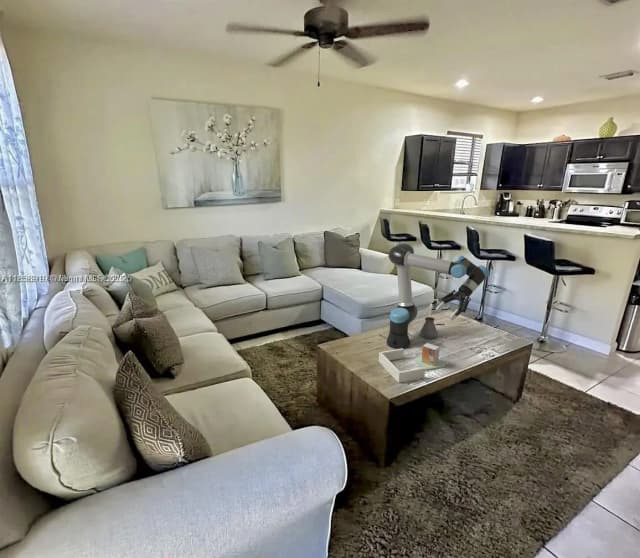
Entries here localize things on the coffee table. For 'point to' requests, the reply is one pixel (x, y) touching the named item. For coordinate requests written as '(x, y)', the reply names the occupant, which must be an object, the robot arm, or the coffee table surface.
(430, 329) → the coffee pot
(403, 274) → the robot arm
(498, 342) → the coffee table surface
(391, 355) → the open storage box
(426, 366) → the sage pad
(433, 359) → the small box
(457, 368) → the coffee table surface
